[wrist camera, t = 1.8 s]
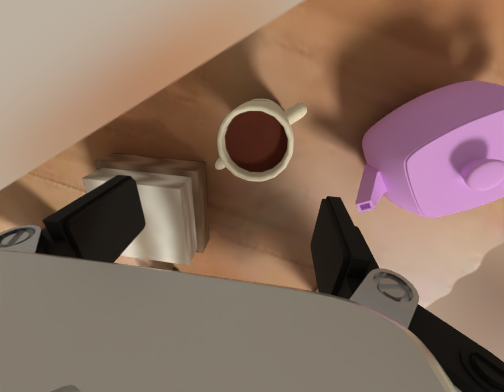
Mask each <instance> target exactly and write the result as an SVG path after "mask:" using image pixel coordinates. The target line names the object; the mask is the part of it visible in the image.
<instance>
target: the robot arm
mask: <svg viewBox="0 0 504 392" xmlns="http://www.w3.org/2000/svg"><path fill="white" fill-rule="evenodd" d="M43 222H44V224H45V226H46V228H47V229H45V230H43V231H42V229H41V228H40V227H39V226H36V225H24V226H19V227H15V228H11V229H9V230H6V231H3V232H1V233H0V392H504V362H503V361H501V360H500V359H499V358H497V357H496V356H495V355H493V354H492V353H491V352H489V351H488V350H486V349H485V348H483V347H482V346H480V345H478V344H477V343H476V342H474V341H472V340H471V339H470V338H468V337H466V336H465V335H464V334H462V333H461V332H459V331H458V330H456V329H454V328H453V327H452V326H450V325H449V324H447V323H446V322H444V321H442V320H441V319H440V318H438V317H437V316H435V315H434V314H432V313H431V312H429V311H427V310H426V309H424V308H423V307H421V306H420V305H418V302H419V295H418V293H417V290H416V289H415V287H414V286H413V285H412V284H411V283H410V282H409V281H408V280H407V279H406V278H404V277H403V276H401V275H400V274H398V273H395V272H393V271H391V270H387V269H380V268H379V266H378V265H377V263H376V261H375V259H374V257H373V255H372V253H371V251H370V249H369V247H368V245H367V243H366V241H365V239H364V237H363V235H362V234H361V232H360V230H359V228H358V227H356V226H354V224H353V222H352V220H351V218H350V216H349V214H348V212H347V210H346V208H345V206H344V204H343V202H342V200H341V198H340V197H331V196H327V198H326V199H322V201H321V205H320V209H319V213H318V217H317V221H316V225H315V229H314V233H313V237H312V241H311V252H312V258H313V264H314V269H315V275H316V280H317V286H318V288H317V289H316V291H315V292H314V291H309V290H303V289H297V288H292V287H284V286H277V285H271V284H264V283H257V282H250V281H243V280H236V279H229V278H222V277H215V276H207V275H200V274H193V273H186V272H178V271H171V270H164V269H156V268H149V267H141V266H134V265H126V264H118V263H114V262H115V260H116V259H117V258H118V257H119V256H120V255H121V254H122V253H123V252H124V250H125V249H126V248H127V247H128V246H129V245H130V244H131V243H132V242H133V240H134V239H135V238H136V237H137V236H138V235H139V234H140V233H141V231H142V230H143V229H144V228H145V225H146V222H145V217H144V213H143V209H142V205H141V201H140V196H139V192H138V188H137V184H136V181H135V180H134V179H133V178H132V177H131V176H126V175H116V176H115V177H113V178H112V179H110V180H108V181H107V182H105V183H103V184H102V185H100V186H98V187H97V188H95V189H93V190H92V191H90V192H88V193H87V194H85V195H83V196H82V197H80V198H78V199H77V200H75V201H73V202H72V203H70V204H68V205H67V206H65V207H64V208H62V209H60V210H59V211H57V212H55V213H54V214H52V215H50V216H49V217H47V218H45V219H44V220H43Z"/></svg>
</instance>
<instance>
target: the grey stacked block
mask: <svg viewBox="0 0 504 392" xmlns="http://www.w3.org/2000/svg"><path fill="white" fill-rule="evenodd" d="M95 163H96V166H97V169H98V171H96V172H94V173H91V174H89V175H87V176H85V177H83V178H82V181H83V184H84V186H85V189H86V192H87V193H88V192H90V191H92V190H93V189H95V188H97V187H98V186H100V185H102V184H103V183H105V182H107V181H108V180H110V179H112V178H113V177H115V176H116V175H126V176H131V177H132V178H133V179H134V180H135V181H136V184H137V188H138V192H139V196H140V201H141V205H142V209H143V213H144V217H145V222H146V225H145V228H144V229H143V230H142V231H141V233H140V234H139V235H138V236H137V237H136V238H135V239H134V240H133V242H132V243H131V244H130V245H129V246H128V247H127V248H126V249H125V250H124V252H123V253H122V254H121V255H120V256H127V257H135V258H142V259H149V260H156V261H163V262H170V263H178V264H185V265H189V264H190V262H191V260H192V258H193V256H194V254H195V252H198V253H203V252H204V250H205V248H206V245H207V243H208V241H209V219H208V199H207V179H206V162H197V161H187V160H177V159H167V158H157V157H147V156H137V155H126V154H116V153H112V154H110V155H108V156H105V157H103V158H101V159H98V160H96V161H95Z"/></svg>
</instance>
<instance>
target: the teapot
mask: <svg viewBox="0 0 504 392" xmlns="http://www.w3.org/2000/svg"><path fill="white" fill-rule="evenodd" d="M362 148H363V152H364V156H365V159H366V162H367V164H366V165H365V168H364V172H363V176H362V180H361V184H360V188H359V192H358V196H357V200H356V206H357V208H358V210H359V213H361V212H365V211H368V210H372V209H374V207H375V205H376V204H377V202H378V201H379V200H380V198H381V197H382V195H384V196H385V197H386V198H387V199H388V200H390V201H391V202H392V203H394V204H395V205H397V206H398V207H400V208H402V209H405V210H407V211H409V212H412V213H415V214H417V215H420V216H423V217H428V218H433V217H440V216H445V215H450V214H454V213H458V212H462V211H465V210H469V209H472V208H476V207H479V206H482V205H484V204H487V203H490V202H492V201H495V200H498V199H500V198H502V197H504V86H501V85H498V84H494V83H489V82H483V81H472V80H471V81H463V82H459V83H455V84H451V85H448V86H445V87H442V88H439V89H436V90H433V91H431V92H428V93H426V94H423V95H421V96H419V97H417V98H415V99H413V100H411V101H409V102H407V103H405V104H404V105H402V106H400V107H398V108H397V109H395V110H394V111H392V112H391V113H389V114H388V115H386V116H385V117H384V118H382V119H381V120H379V121H378V122H377V123H375V124H374V125H373V126H372V127H371V128H369V130H368V131H367V132H366V133H365V135H364V137H363V140H362Z"/></svg>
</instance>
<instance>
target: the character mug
mask: <svg viewBox="0 0 504 392" xmlns="http://www.w3.org/2000/svg"><path fill="white" fill-rule="evenodd" d="M306 113H307V107H306V106H305V105H304V104H303V103H298V104H296V105H294V106H293V107H291V108H290V109H288V110H287V111H285V112H284V109H283V108H282V107H281V106H280V105H279V104H278V103H277V102H276V101H273V100H270V99H267V98H265V99H263V98H262V99H252V100H250V101H248V102H245V103H243V104H241V105H240V106H239V107H237V108H236V109H234V110H232V111H231V112H230V113H229V114H228V115H227V116H226V117H225V118H224V120H223V122H222V123H221V125H220V128H219V132H218V136H217V146H218V153H219V156H220V157H219V158H218V160H217V161H216V163H215V168H216V169H218V170H220V169H223V168H225V167H226V168H227V169H228V170H229V171H230V172H232V173H233V174H234V175H235V176H237V177H240V178H242V179H244V180H247V181H260V182H262V181H265V180H268V179H271V178H274V177H276V176H277V175H278V174H279V173H280V172H282V171H283V170H284V169H285V168H286V166H287V164H288V162H289V160H290V158H291V157H292V154H293V143H294V136H293V131H292V127H291V124H293V123H294V122H296V121H297V120H299V119H301V118H302V117H303V116H304V115H305V114H306Z"/></svg>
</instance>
